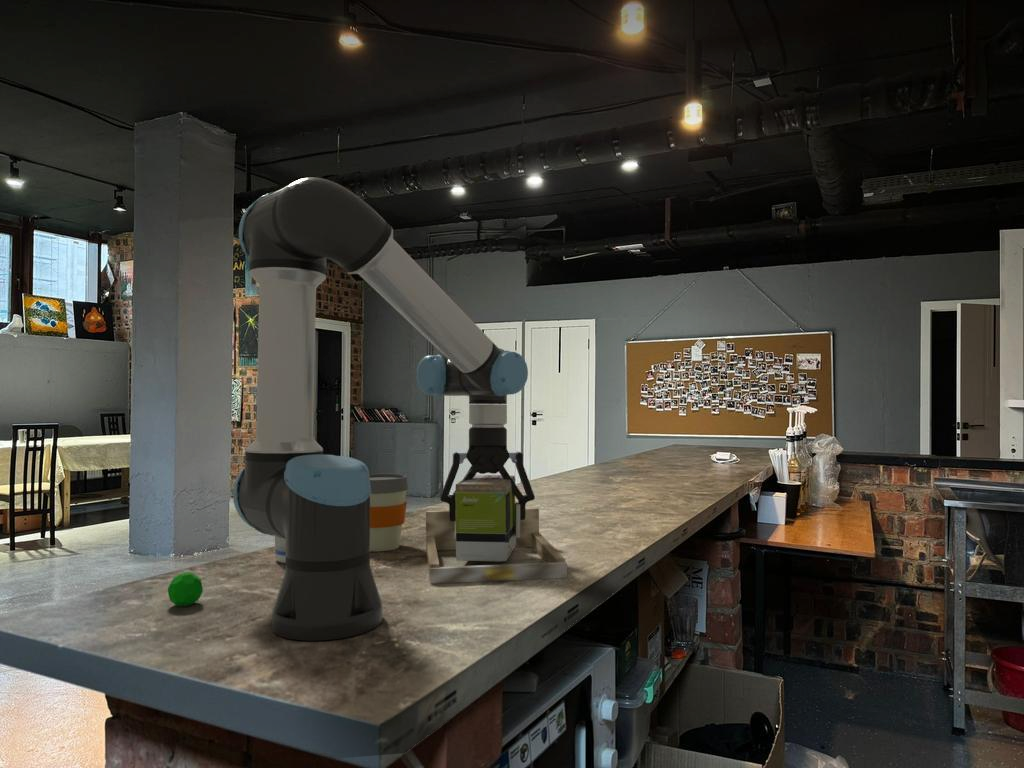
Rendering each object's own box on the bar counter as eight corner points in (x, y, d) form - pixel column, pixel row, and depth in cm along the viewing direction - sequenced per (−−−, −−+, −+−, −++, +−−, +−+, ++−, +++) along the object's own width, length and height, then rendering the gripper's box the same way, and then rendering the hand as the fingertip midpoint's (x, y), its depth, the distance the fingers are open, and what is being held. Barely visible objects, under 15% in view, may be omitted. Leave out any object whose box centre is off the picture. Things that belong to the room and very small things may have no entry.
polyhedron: (162, 610, 107) (162, 578, 107) (175, 600, 111) (175, 570, 112) (196, 609, 107) (196, 577, 107) (207, 600, 112) (207, 569, 112)
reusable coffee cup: (380, 555, 142) (380, 481, 143) (335, 549, 149) (335, 478, 149) (420, 544, 153) (419, 475, 153) (376, 538, 160) (376, 472, 160)
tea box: (469, 544, 147) (469, 473, 147) (516, 546, 145) (517, 474, 146) (454, 560, 132) (454, 481, 132) (507, 562, 130) (507, 482, 131)
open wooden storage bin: (430, 584, 120) (430, 537, 121) (425, 548, 148) (425, 510, 149) (567, 578, 124) (566, 532, 124) (537, 544, 152) (537, 507, 152)
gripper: (542, 425, 145) (542, 532, 144) (427, 425, 141) (426, 535, 141) (550, 426, 137) (549, 539, 137) (428, 426, 134) (427, 542, 133)
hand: (487, 537), depth 139 cm, fingers closed on tea box, 11 cm apart
